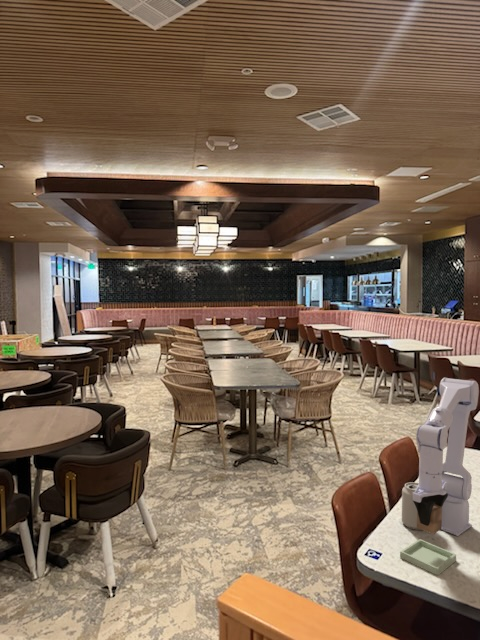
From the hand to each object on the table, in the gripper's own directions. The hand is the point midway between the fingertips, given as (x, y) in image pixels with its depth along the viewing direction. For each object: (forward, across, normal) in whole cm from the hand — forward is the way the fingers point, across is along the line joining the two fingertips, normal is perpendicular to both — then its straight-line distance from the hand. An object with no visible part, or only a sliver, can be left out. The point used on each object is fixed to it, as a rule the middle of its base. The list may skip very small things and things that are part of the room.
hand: (429, 521), depth 121 cm
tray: (+9, -3, -1) cm, 9 cm away
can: (+9, +12, +10) cm, 18 cm away
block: (+2, 0, 0) cm, 2 cm away
